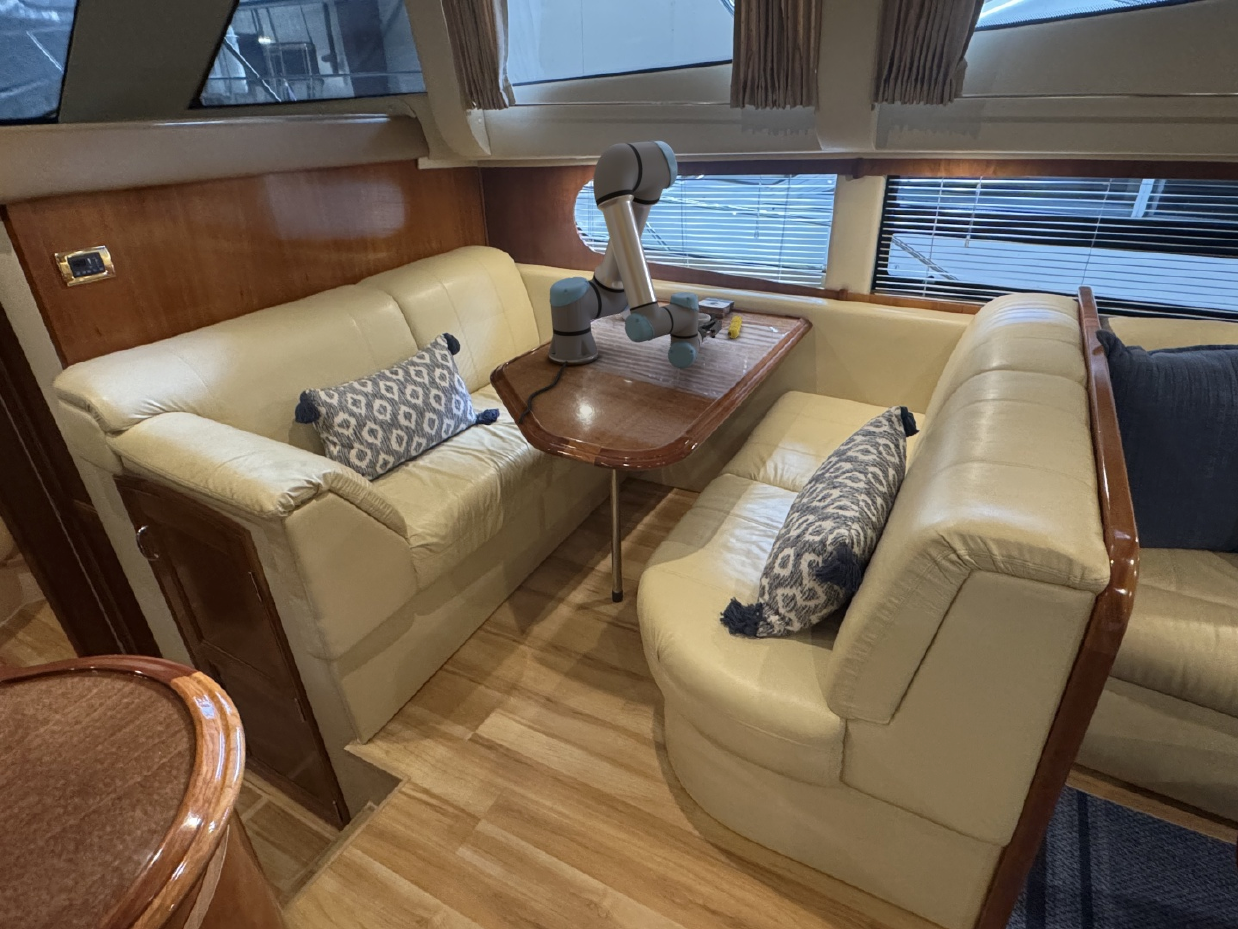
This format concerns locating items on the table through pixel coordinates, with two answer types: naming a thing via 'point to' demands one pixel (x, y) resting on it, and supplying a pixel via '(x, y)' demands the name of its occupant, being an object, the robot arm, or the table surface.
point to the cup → (703, 321)
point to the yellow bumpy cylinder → (734, 327)
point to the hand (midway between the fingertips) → (700, 316)
